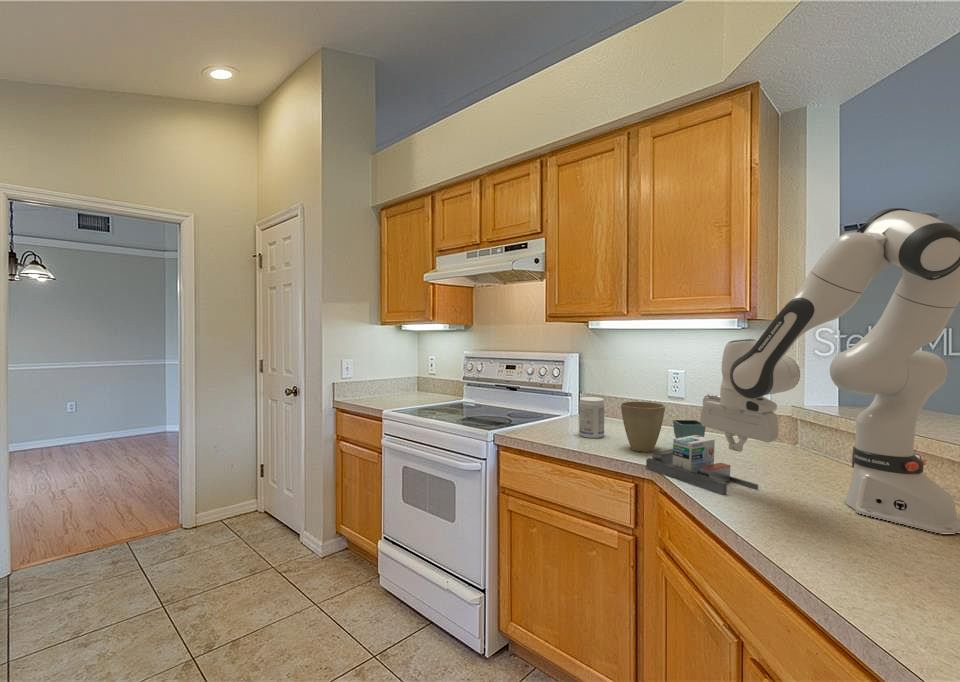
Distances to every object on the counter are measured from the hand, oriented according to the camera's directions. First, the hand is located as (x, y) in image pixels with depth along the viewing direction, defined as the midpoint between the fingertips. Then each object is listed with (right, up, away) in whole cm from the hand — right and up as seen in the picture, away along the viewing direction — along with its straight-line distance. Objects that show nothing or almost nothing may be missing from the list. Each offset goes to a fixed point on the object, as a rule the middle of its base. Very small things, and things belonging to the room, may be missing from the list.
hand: (735, 450), depth 134 cm
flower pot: (+6, -9, +46) cm, 47 cm away
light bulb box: (-6, -10, +13) cm, 18 cm away
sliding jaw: (-3, -10, +6) cm, 12 cm away
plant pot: (-12, -9, +41) cm, 44 cm away
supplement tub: (-25, -8, +62) cm, 67 cm away
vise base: (-6, -10, +10) cm, 15 cm away
